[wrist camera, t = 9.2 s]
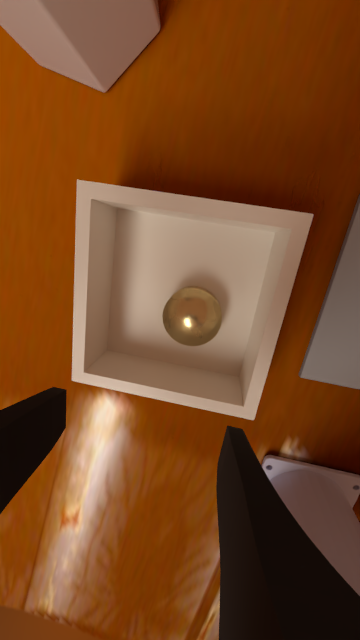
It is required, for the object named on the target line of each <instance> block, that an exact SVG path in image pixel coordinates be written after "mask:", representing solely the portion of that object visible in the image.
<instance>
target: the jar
mask: <svg viewBox="0 0 360 640" xmlns="http://www.w3.org/2000/svg"><path fill="white" fill-rule="evenodd" d="M0 25H1V26H2V27H3V28H4V29H5V30H6V31H7V32H8V33H9V34H10V36H11V37H12V38H13V39H14V40H15V41H16V42H17V43H18V44H19V45H20V46H21V47H22V48H23V49H24V50H25V51H26V52H27V53H28V54H29V55H30V56H31V57H32V58H33V59H34V60H35V61H36V62H37V63H38V64H39V65H41V66H43V67H45V68H47V69H50V70H52V71H54V72H57V73H59V74H61V75H64V76H66V77H68V78H71V79H73V80H75V81H78V82H80V83H82V84H85V85H87V86H89V87H92V88H94V89H96V90H99V91H101V92H107V91H108V89H109V88H110V87H111V86H112V85H113V84H114V83H115V81H116V80H117V79H118V78H119V77H120V76H121V75H122V73H123V72H124V71H125V70H126V69H127V68H128V67H129V65H130V64H131V63H132V62H133V61H134V60H135V59H136V57H137V56H138V55H139V54H140V53H141V52H142V51H143V49H144V48H145V47H146V46H147V45H148V44H149V43H150V42H151V40H152V39H153V38H154V37H155V36H156V35H157V34H158V33H159V31H160V27H161V25H160V16H159V8H158V0H0Z"/></svg>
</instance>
